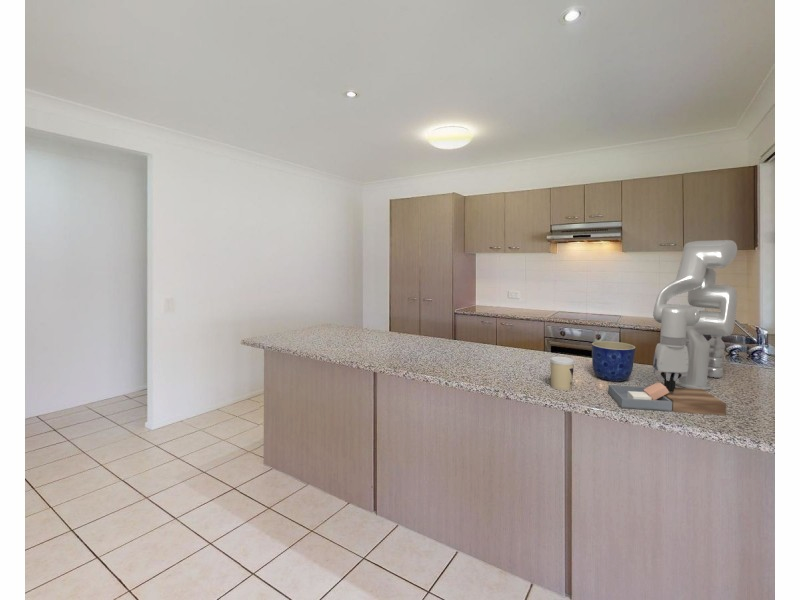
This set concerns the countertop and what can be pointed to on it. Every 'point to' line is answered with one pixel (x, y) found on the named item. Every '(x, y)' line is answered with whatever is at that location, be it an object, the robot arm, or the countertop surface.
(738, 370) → the countertop surface
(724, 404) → the walnut board
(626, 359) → the planter
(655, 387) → the terracotta tile
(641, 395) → the cream tile
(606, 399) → the countertop surface
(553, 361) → the coffee cup
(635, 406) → the tray
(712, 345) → the plastic bottle
